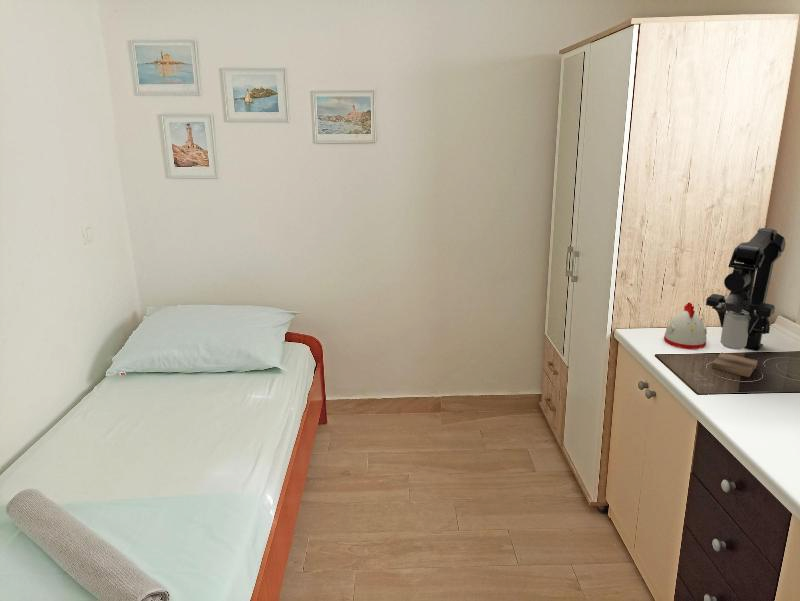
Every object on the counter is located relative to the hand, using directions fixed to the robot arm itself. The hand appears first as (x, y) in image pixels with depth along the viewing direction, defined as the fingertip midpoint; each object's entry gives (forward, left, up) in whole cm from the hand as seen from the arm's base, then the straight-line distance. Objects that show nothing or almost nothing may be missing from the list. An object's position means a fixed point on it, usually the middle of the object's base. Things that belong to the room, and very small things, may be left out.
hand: (735, 330), depth 196 cm
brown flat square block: (0, +1, -13) cm, 13 cm away
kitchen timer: (-12, -19, -13) cm, 26 cm away
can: (0, 0, -6) cm, 6 cm away
